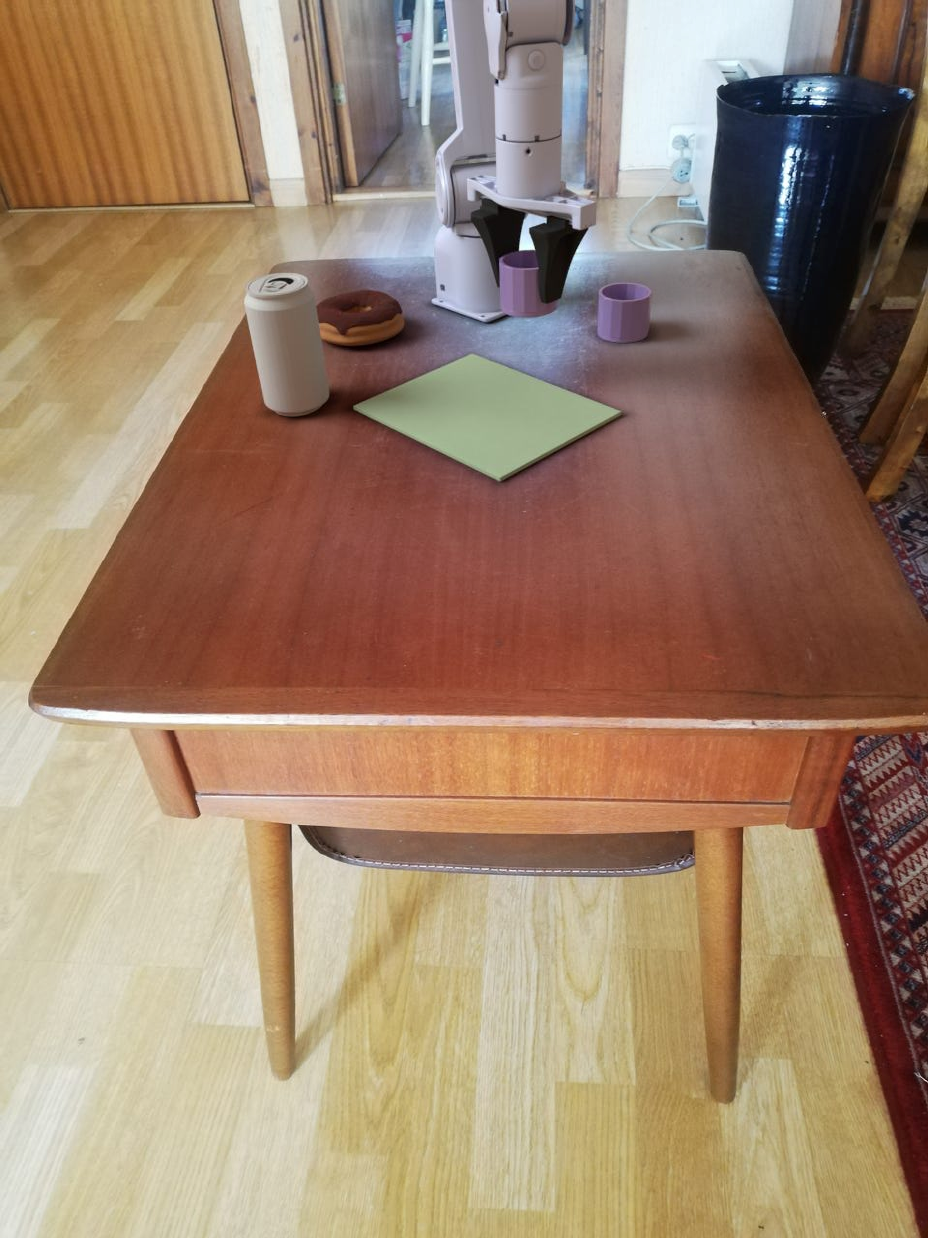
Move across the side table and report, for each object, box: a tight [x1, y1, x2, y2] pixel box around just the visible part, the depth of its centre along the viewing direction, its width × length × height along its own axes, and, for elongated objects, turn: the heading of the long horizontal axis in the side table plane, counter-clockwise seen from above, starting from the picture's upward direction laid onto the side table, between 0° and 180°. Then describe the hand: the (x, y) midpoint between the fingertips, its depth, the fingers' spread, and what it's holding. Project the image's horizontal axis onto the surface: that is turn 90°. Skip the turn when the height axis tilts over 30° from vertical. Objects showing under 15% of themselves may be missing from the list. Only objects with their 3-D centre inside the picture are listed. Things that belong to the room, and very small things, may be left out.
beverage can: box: [243, 272, 330, 417], centre depth 87 cm, size 6×6×12 cm
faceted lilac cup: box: [596, 282, 653, 344], centre depth 99 cm, size 6×6×4 cm
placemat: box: [352, 353, 622, 483], centre depth 88 cm, size 20×16×1 cm
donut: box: [316, 289, 405, 347], centre depth 102 cm, size 10×10×4 cm
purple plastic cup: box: [499, 249, 559, 319], centre depth 87 cm, size 6×6×4 cm
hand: (529, 292), depth 88 cm, fingers closed on purple plastic cup, 5 cm apart
